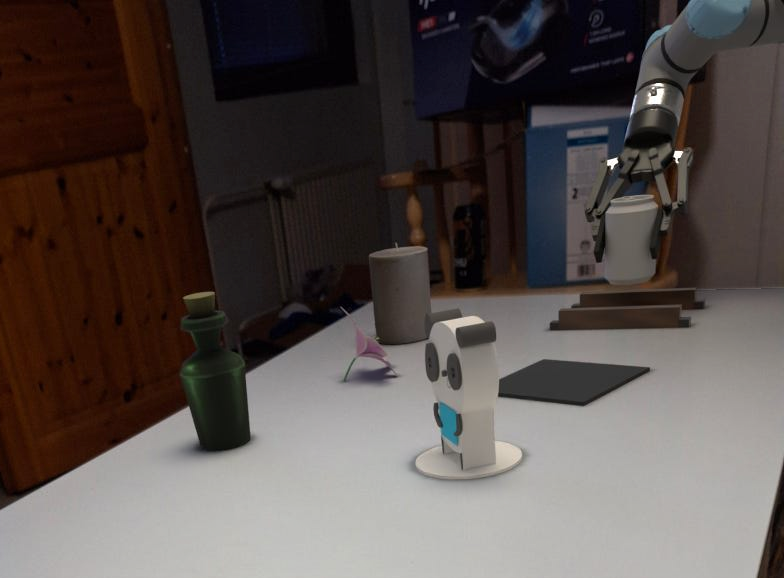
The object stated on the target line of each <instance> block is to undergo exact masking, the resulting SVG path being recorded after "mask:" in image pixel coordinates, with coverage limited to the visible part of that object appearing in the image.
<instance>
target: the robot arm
mask: <svg viewBox="0 0 784 578" xmlns="http://www.w3.org/2000/svg"><path fill="white" fill-rule="evenodd" d="M771 44H772V45H773V44H784V0H689V1H688V3H687V5H685V7H684V9H683V10H682V11H681V12H680V14H679V15H678V17H677V18H676V19H675V20H674V22H673V23H672V24H668V25H665V26H663V27H662V28H661V29H658V30H656V31H654V33H652V34H651V36H650V37H649V39H648V40H647V42H646V45H645V49H644V51H643V53H642V56H641V61H640V66H639V73H638V79H637V83H636V88H635V92H634V97H633V100H632V106H631V110H630V114H629V119H628V123H627V124H628V125H627V128H626V132H625V136H624V141H623V146H622V150H621V151H620V152H619V154H618V155H617V157H614V158H611V159H608V157H606V156H603V157H601V158H599V162H598V163H599V164H598V167H599V169H598V172H597V175H596V178H595V181H594V183H593V186H592V188H591V191H590V194H589V196H588V198H587V201H586V204H585V206H584V214H585V218H586V221H587V223H593V224H592V228H591V236H592V240H593V242H595V243H594V247H593V255H594V259H595V262H596V264H599V263H602V262H603V257H604V254H605V216H606V211H607V210H608V209H609V207H610V206H611V203H610V201H611V200H613V199H617V198H621V197H624V196H625V194H626V192H627V191H629V190H630V189H631V188H632V186H633V185H634V184H636V183H640V182H654V184H655V187H656V191H657V194H658V197H659V200H660V204H661V208H658V211H657V215H656V220H655V225H654V229H653V234H652V239H651V244H650V253H651V257H652V259H656V260H658V256H659V251H660V248H661V242H662V237H668V236H669V235H670V233H671V228H672V223H673V219H674V217H676V216H678V215H680V216H684V215H686V214H687V213H688V207H689V205H688V203H689V200H688V199H689V172H690V169H691V168H692V166H693V164H694V158H693V150H692V148H691V147H690V146H687V147H685V148H684V149H683V150H682V151H681V150H676V148H675V146H676V141H677V136H678V132H679V126H680V122H681V117H682V113H683V107H684V103H685V97H686V95H687V89H688V85H689V83H690V81H691V79H692V78H693V77H694V76H695V75H696V74H697V73H698V71H700V70H701V69H702V68H703V66H704V65H705V64H706V63H707V62H708V61H709V60H710V59H711V58H712V56H714V55H715V54H716V53H719V52H725V51H731V50H738V49H743V48H744V49H745V48H749V47H757V46H765V45H771ZM674 162H675V166H676V167H677V191H676V192H677V194H676V201H674V202H673V201H672V198H671V195H670V192H669V188H668V184H667V182H666V177H665V174H664V172H666V170H667V169H668V168H669V167H670V166H671V165H672V164H673V163H674ZM617 168H619V169H620V170H619V172H618V175H617V178H616V180H615V181H614V183H613V184H612V185H611V187H610V189H609V190H608V191H607V189H608V186H609V183H610V179H611V177H613V176H614V173H615V171H616V169H617ZM606 191H607V193H606ZM605 194H606V195H605Z"/></svg>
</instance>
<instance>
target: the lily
mask: <svg viewBox="0 0 784 578" xmlns="http://www.w3.org/2000/svg"><path fill="white" fill-rule="evenodd" d="M340 309H341V310H342V311H343V312H344V313H345V314H346V315H347V316H348V318H349V320H350V322H351V323H352V325H353V326H354V331H355V356H354V357H353V359H352V361H351V362H350V363H349V366H348V368H347V371H346V373H345V375H344V378H343V380H342V381H343V382H346V380H347V378H348V375H349V373H350V370H351V368H352V366H353V364H354V363H355V362H356V360H357V359H358V358H359V357H360V358H361V357H362V358H371V359H375V360H378V361H381V362H382V363H383V364H384V365H386V366H387V367H388V368H389V369H390V370H391V371H392V372H393V373H394V374H395V375H396V377H399V376H398V375H397V373H396V371H395V370H394V369H393V367H392V364H391V362H390V361H388V360H387V359H386V358H385V357H387V356H388V353H387V351H385V349H384V348H383V346H382V345H381V343H378V342H379V341H376V340H377V338H378V339H380V338H379V337H377V338H376V334H373V337H372V336H370V335H365V334H364V333H363V331H362V330H361V329H360V328H359V327H358V326H357V323H356V322H355V320H354V318H353V316H352V315H350V314H349V313H348V311H346V310H345V309H344V308H343V307H342V306H340Z"/></svg>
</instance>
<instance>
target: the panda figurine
mask: <svg viewBox="0 0 784 578" xmlns="http://www.w3.org/2000/svg"><path fill="white" fill-rule="evenodd" d="M425 332H426V336H427V337H428V338H427V339H428V342H427V343H426V344H425V348H424V364H425V365H424V366H425V374H426V377H427V379H428V380H429V381H430V384H431V387H432V390H433V394H434V397H435V400H436V402H433V406H432V407H433V408H432V409H433V416H434V420H435V423H436V425H437V427H438V428H440V440H441V441H440V443H441V445H437V446H434V447H432V448H430V449H427V450H425V451H424V452H422V453H421V454H419V456H418V457H416V460H415V468H416V470H417V471H418V472H419V473H421V474H422V475H425V476H427V477H431V478H435V479H441V480H455V481H456V480H457V481H458V480H475V479H482V478H487V477H491V476H492V477H493V476H495V475H500V474H502V473H504V472H507V471H509V470H511V469H513V468H515V467H517V466H518V465H519V464H520V463H521V462H522V460H523V452H522V450H521V449H520V447H518V446H516V445H514V444H511V443H509V442H504V441H499V440H496V436H495V411H494V408H495V406H496V404H497V400H498V397H499V396H498V391H499V379H500V370H499V360H498V355H497V354H498V353H497V347H496V341H497V328H496V325H495V322H493V321H492V320H490V321H484V320H483V319H482V318H480V317H479V316H476V315H469V316H464V317H463V315H462V311H461V309H460V308H458V307H457V308H451V309H446V310H440V311H436V312H435V311H434V312H431V313H429V314H426V316H425Z"/></svg>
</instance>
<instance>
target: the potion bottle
mask: <svg viewBox="0 0 784 578" xmlns="http://www.w3.org/2000/svg"><path fill="white" fill-rule="evenodd" d="M182 299H183V302H184V304H185V307H186V309H187V312H188V315H185V316H183V317H181V320H180V328H179V329H180V331H184V332H188V333H189V335H190V337H191V339H192V341H193V344H194V346H195V348H196V351H194V352H193V353H192V354H191V355H190V356H189V357H188V358H187V359H186V360H184V361H183V362H182V365H181V367H180V371H179V377H180V381H181V384H182V387H183V391H184V394H185V397H186V401H187V405H188V407H189V411H190V414H191V415H190V416H191V419H192V421H193V425H194V429H195V431H196V435H197V439H198V443H199V446H200V447H202V448H203V449H204V450H208V451H226V450H231V449H235V448H239V447H241V446H243V445H245V444H247V443H248V442H249V441H250V439H251V423H250V412H249V399H248V398H249V397H248V387H247V386H248V385H247V375H246V364H245V363H246V362H245V360H244V359H243V357H242V356H241V354H239V353H237V352H235V351H232V350H229V349H228V348H225V347H223V346H221V333H222V332H221V330H222V327H224V326H225V325H226V324H228V323H229V318H228V316H227V315H226V313H225V311H223V310H216V308H215V307H216V301H215V300H216V293H215V292H214V291H202V292H195V293H191V294H189V295H185V296H183V297H182Z"/></svg>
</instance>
